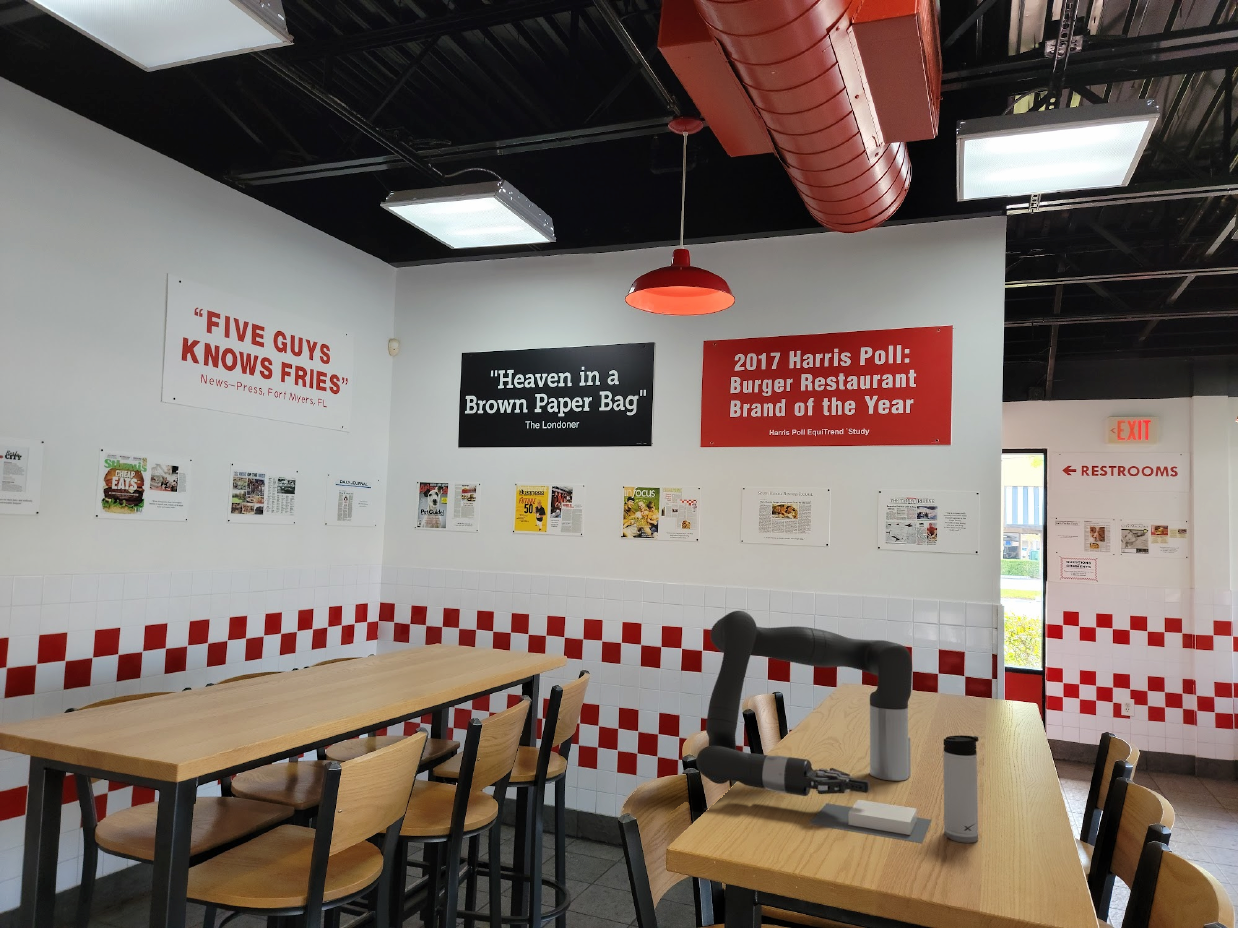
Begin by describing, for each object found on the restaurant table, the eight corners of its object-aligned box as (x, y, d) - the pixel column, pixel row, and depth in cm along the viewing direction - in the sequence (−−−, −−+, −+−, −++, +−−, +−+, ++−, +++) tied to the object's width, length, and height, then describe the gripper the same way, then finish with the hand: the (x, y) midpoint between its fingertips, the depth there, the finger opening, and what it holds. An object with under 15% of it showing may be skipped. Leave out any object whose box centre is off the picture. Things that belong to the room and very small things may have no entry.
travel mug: (976, 845, 165) (975, 740, 167) (941, 838, 169) (940, 735, 170) (982, 836, 170) (980, 734, 172) (947, 830, 174) (946, 730, 176)
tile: (848, 812, 174) (910, 822, 169) (857, 799, 183) (916, 808, 177) (848, 825, 174) (910, 835, 168) (858, 812, 183) (916, 821, 177)
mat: (809, 826, 174) (809, 823, 174) (826, 805, 188) (826, 802, 189) (922, 845, 164) (922, 843, 164) (931, 821, 179) (931, 819, 179)
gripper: (778, 763, 179) (862, 775, 172) (795, 750, 191) (874, 761, 184) (778, 800, 179) (863, 814, 171) (795, 784, 191) (874, 796, 183)
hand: (868, 786), depth 177 cm, fingers closed
